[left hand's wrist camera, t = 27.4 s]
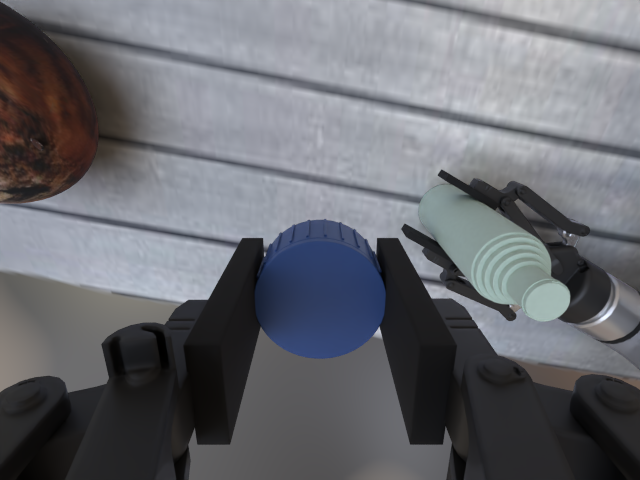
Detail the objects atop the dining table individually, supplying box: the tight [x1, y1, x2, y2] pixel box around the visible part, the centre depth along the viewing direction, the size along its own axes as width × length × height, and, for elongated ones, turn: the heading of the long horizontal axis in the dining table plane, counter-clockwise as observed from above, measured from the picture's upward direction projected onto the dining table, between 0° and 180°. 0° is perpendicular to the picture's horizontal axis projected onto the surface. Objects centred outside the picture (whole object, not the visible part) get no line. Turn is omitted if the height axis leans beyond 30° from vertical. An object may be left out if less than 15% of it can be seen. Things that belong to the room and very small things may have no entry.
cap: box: [254, 219, 386, 359], centre depth 13 cm, size 4×4×2 cm
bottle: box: [419, 184, 570, 322], centre depth 38 cm, size 6×6×24 cm
